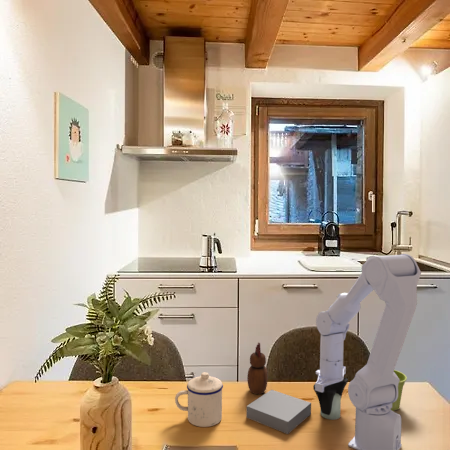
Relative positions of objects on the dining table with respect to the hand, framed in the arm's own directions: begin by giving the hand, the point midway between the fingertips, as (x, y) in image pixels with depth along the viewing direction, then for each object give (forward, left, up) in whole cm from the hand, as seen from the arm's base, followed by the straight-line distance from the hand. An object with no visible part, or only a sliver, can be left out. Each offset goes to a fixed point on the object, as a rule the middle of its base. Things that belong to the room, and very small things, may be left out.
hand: (330, 409), depth 107 cm
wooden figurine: (+22, +1, -2) cm, 22 cm away
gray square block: (+10, +9, -1) cm, 14 cm away
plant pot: (-10, -14, -2) cm, 17 cm away
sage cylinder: (0, 0, -1) cm, 1 cm away
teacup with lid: (+25, +23, -2) cm, 34 cm away
